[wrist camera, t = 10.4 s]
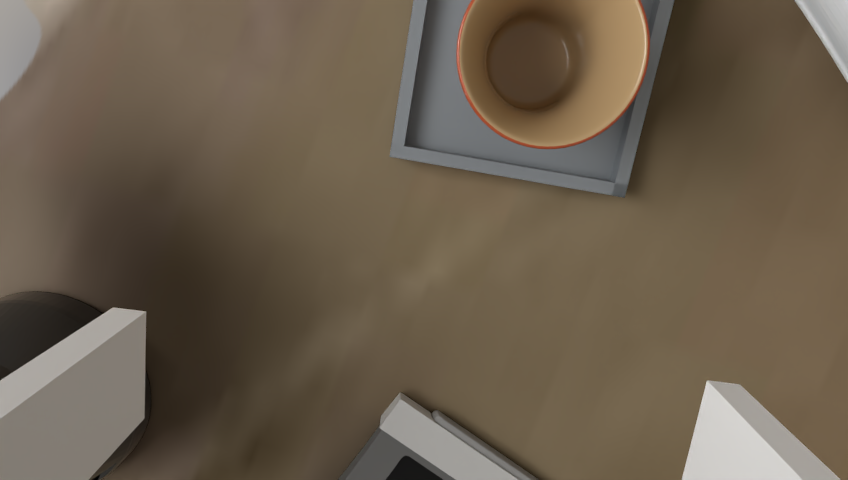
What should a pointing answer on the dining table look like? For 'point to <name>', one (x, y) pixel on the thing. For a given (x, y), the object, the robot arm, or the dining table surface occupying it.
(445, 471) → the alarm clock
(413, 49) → the rest tray
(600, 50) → the mug
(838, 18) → the salad plate
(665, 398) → the dining table surface
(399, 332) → the dining table surface
